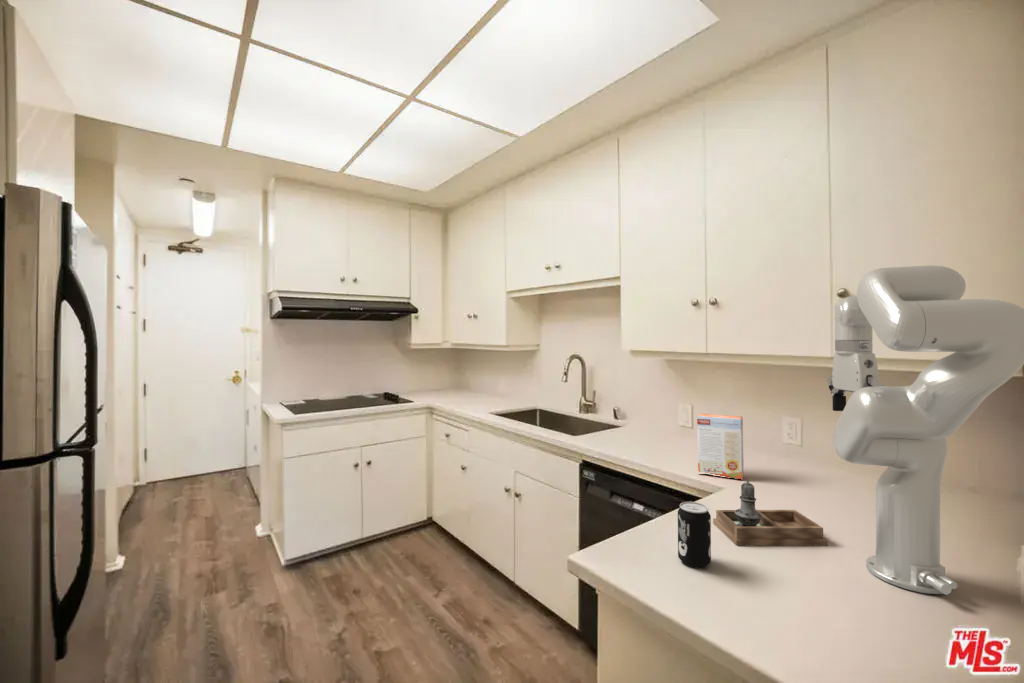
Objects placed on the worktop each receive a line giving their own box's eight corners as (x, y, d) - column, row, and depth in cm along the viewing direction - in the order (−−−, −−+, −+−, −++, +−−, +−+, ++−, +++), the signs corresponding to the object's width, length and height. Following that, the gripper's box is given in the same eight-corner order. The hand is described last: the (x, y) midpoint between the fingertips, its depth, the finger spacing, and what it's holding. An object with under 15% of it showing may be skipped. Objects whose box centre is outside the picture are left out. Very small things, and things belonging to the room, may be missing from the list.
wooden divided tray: (794, 522, 111) (794, 508, 111) (827, 545, 99) (827, 529, 99) (713, 523, 112) (712, 508, 112) (736, 545, 100) (736, 529, 100)
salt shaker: (765, 534, 102) (765, 484, 102) (739, 532, 103) (738, 483, 103) (756, 523, 108) (756, 476, 108) (731, 522, 109) (731, 475, 109)
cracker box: (743, 476, 148) (743, 415, 148) (742, 481, 143) (742, 418, 143) (700, 469, 155) (699, 412, 155) (697, 474, 150) (696, 415, 150)
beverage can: (708, 573, 88) (708, 515, 88) (675, 564, 92) (674, 508, 92) (712, 558, 94) (712, 504, 94) (681, 551, 97) (680, 498, 97)
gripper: (898, 348, 101) (898, 420, 101) (842, 346, 118) (842, 408, 118) (865, 348, 101) (866, 421, 101) (815, 346, 118) (815, 408, 118)
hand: (853, 414), depth 110 cm, fingers open, 9 cm apart
